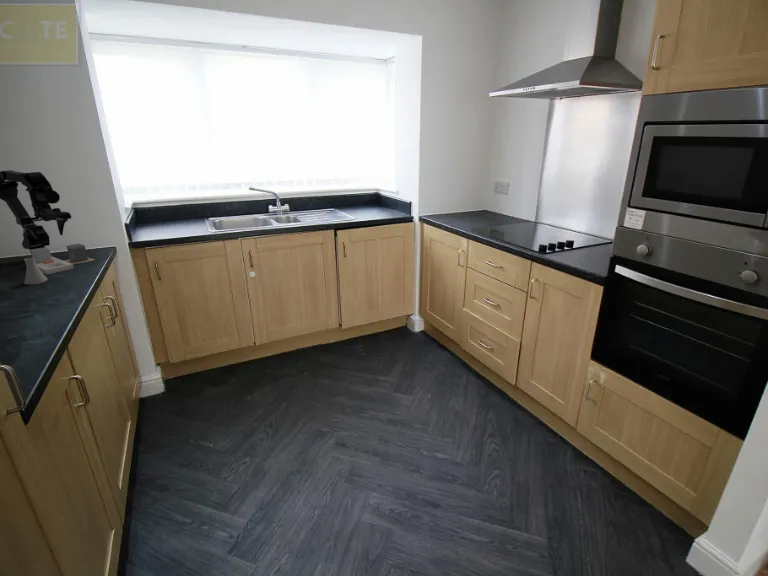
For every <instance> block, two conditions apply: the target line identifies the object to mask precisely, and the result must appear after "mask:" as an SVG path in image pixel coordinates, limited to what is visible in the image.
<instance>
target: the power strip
mask: <svg viewBox="0 0 768 576" xmlns="http://www.w3.org/2000/svg"><path fill="white" fill-rule="evenodd" d="M51 257H52V260H47V261H43V263H36V262H35V263H36V265H37V267H38V268H39V269H40V271H41V272H42V273H43V274H44V275H51V274H55V273H60V272H65V271H69V270H73V269H74V268H75V267H74V264H71V263H69V262H66V261H65V260H63V259H60V258H57V257H55V256H52V255H51ZM24 262H25V261H24ZM25 264H26V262H25Z"/></svg>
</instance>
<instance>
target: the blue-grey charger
mask: <svg viewBox="0 0 768 576" xmlns="http://www.w3.org/2000/svg"><path fill="white" fill-rule="evenodd" d="M30 251H31V252H30ZM29 252H30V255H31V254H32V256H31V258H32V257H33V258H35V262H36V263H43V261H47V260H52V257H53V256H52V253H51V251H50V248H47V247H45V248H38V249H33V250H30V249H29ZM51 256H52V257H51Z"/></svg>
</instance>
